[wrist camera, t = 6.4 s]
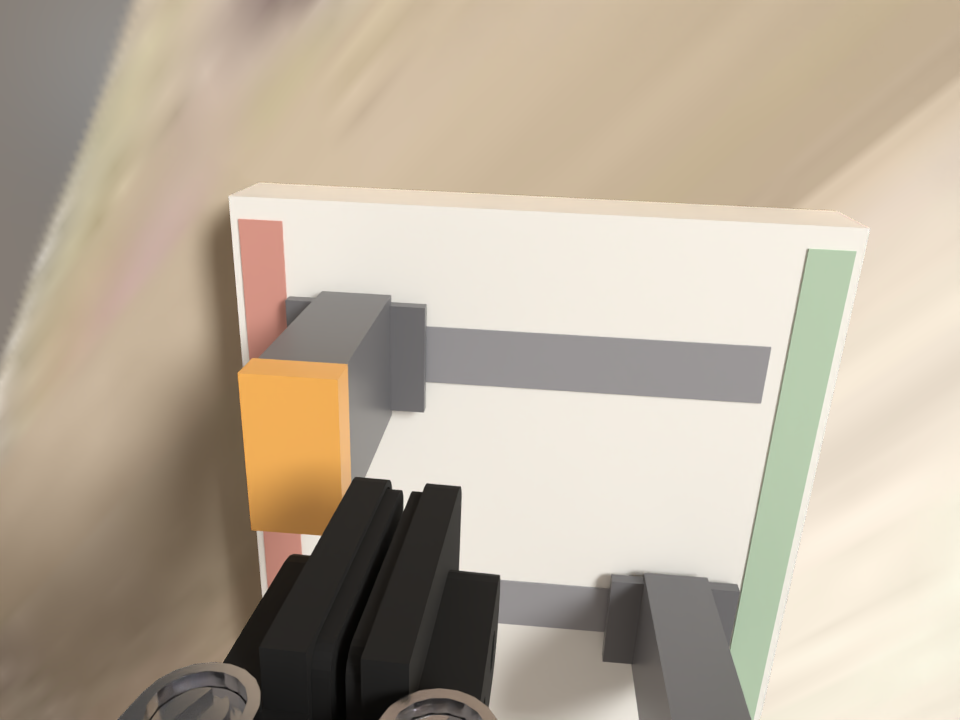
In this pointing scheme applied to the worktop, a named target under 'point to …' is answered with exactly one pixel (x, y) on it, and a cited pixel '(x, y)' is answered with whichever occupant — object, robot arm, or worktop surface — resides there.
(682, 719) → the breaker
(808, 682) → the worktop surface
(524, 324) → the breaker panel
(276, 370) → the breaker
